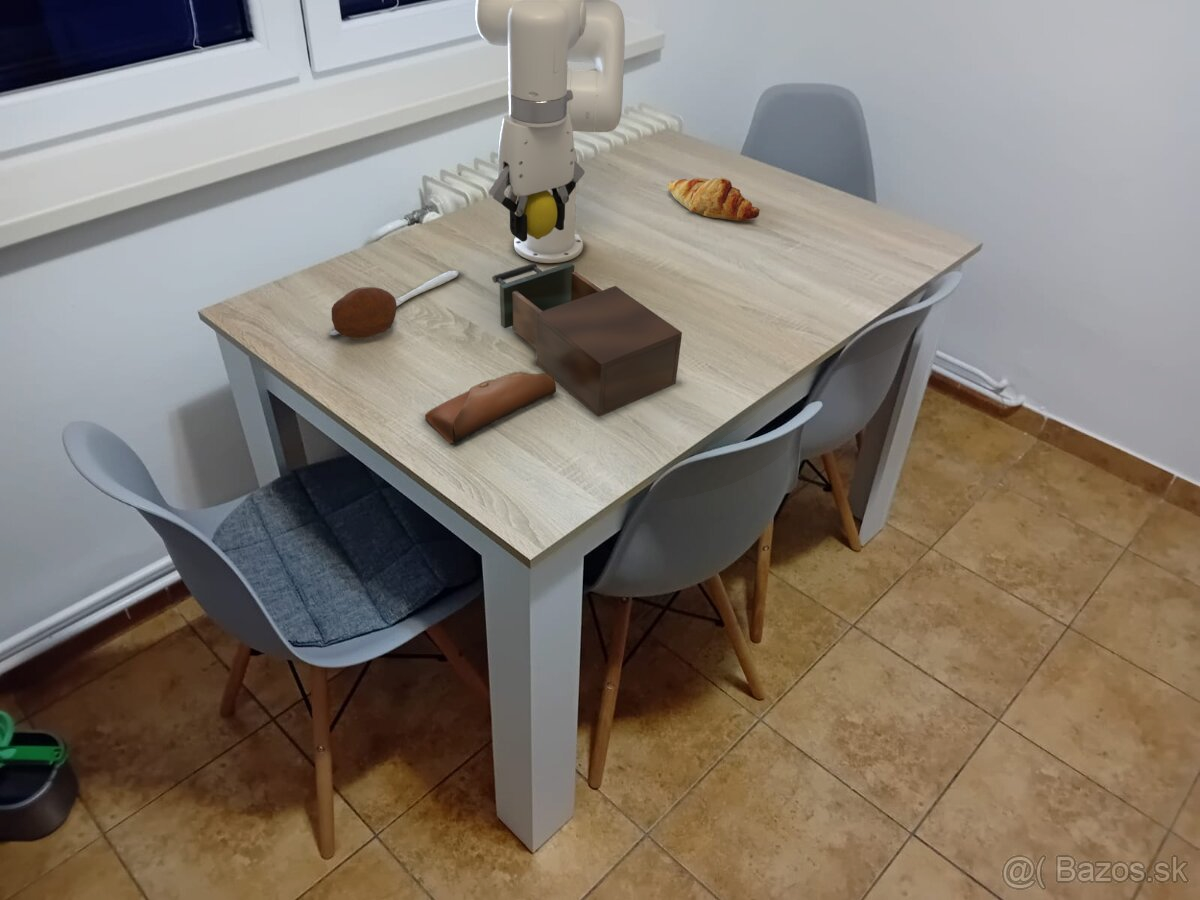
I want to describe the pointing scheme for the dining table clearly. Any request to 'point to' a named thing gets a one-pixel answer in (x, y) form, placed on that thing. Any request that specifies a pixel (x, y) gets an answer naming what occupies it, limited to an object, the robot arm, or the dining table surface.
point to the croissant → (713, 198)
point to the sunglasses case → (488, 404)
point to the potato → (364, 312)
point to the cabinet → (607, 349)
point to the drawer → (538, 295)
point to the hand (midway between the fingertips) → (537, 230)
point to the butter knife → (422, 288)
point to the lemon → (540, 214)
